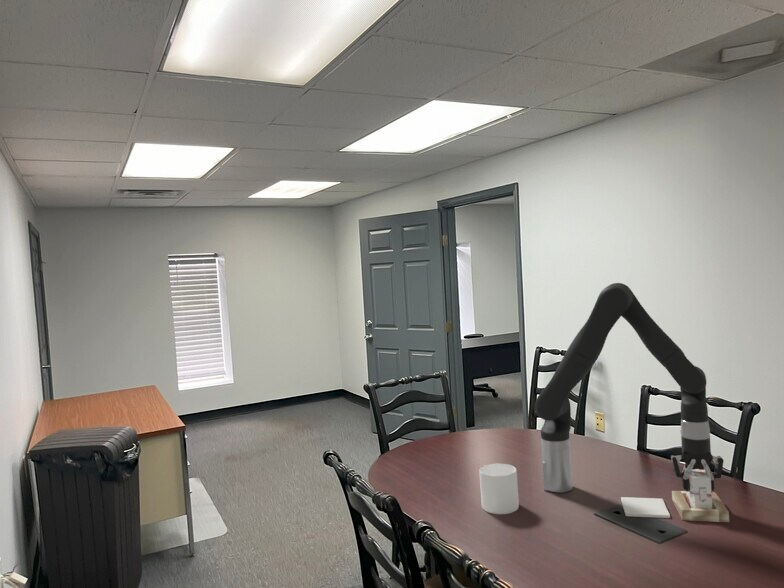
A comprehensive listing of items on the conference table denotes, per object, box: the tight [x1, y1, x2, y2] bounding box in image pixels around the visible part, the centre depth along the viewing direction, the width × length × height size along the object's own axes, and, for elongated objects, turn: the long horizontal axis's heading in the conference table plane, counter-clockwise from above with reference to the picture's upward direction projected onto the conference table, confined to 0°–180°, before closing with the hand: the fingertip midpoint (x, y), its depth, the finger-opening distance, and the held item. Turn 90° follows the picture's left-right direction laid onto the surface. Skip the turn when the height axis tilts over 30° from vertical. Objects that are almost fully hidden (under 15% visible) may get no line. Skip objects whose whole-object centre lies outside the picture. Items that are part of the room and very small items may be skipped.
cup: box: [478, 462, 520, 515], centre depth 180 cm, size 12×12×12 cm
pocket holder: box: [671, 490, 730, 523], centre depth 167 cm, size 12×14×3 cm
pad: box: [620, 496, 671, 519], centre depth 171 cm, size 12×12×1 cm
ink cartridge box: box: [686, 464, 713, 509], centre depth 167 cm, size 9×5×15 cm, turn 168°
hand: (698, 490), depth 167 cm, fingers open, 5 cm apart
